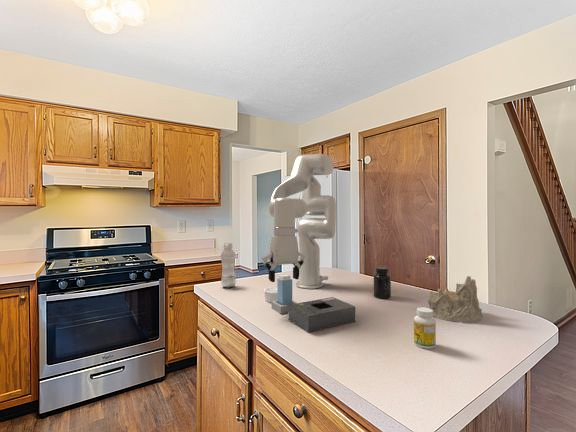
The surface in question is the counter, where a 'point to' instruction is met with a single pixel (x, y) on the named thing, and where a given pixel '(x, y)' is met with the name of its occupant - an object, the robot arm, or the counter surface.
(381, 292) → the supplement bottle
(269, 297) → the ramekin
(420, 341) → the supplement bottle
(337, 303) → the port panel
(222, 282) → the plastic bottle
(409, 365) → the counter surface
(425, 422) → the counter surface
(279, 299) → the plug
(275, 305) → the frame
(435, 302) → the ceramic cottage
